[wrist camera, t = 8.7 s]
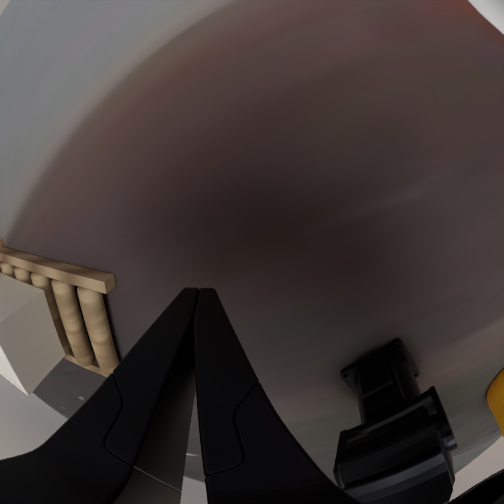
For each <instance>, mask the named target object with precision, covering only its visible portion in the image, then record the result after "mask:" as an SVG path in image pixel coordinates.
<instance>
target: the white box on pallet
mask: <svg viewBox="0 0 504 504" xmlns="http://www.w3.org/2000/svg"><path fill="white" fill-rule="evenodd" d="M64 356H65V352H64V350H63V347H62V345H61V342H60V340H59V337H58V334H57V331H56V328H55V326H54V323H53V320H52V317H51V313H50V310H49V307H48V304H47V300H46V297H45V293H44V290H42V289H39V288H36V287H34V286H31V285H29V284H26V283H24V282H21V281H19V280H16V279H14V278H12V277H9V276H7V275H5V274H2V273H0V373H1V374H2V375H3V376H4V377H5V378H6V379H8V380H9V381H10V382H11V383H13V384H14V385H15V386H16V387H18V388H19V389H20V390H22V391H23V392H24V393H26V394H27V395H28V396H29V395H30V394H31V393H32V392H33V390H34V389H35V388H36V387H37V386H38V385H39V384H40V382H41V381H42V380H43V379H44V378H45V377H46V376H47V375H48V373H49V372H50V371H51V370H52V369H53V368H54V367H55V366H56V365H57V363H58V362H59V361H60V360H61V359H62V358H63V357H64Z"/></svg>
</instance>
